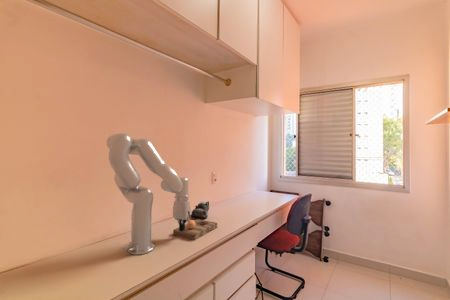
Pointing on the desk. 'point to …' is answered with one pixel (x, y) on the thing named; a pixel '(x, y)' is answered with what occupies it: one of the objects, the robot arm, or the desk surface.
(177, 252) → the desk surface
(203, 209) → the lucky cat figurine
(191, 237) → the board
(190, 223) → the ball
